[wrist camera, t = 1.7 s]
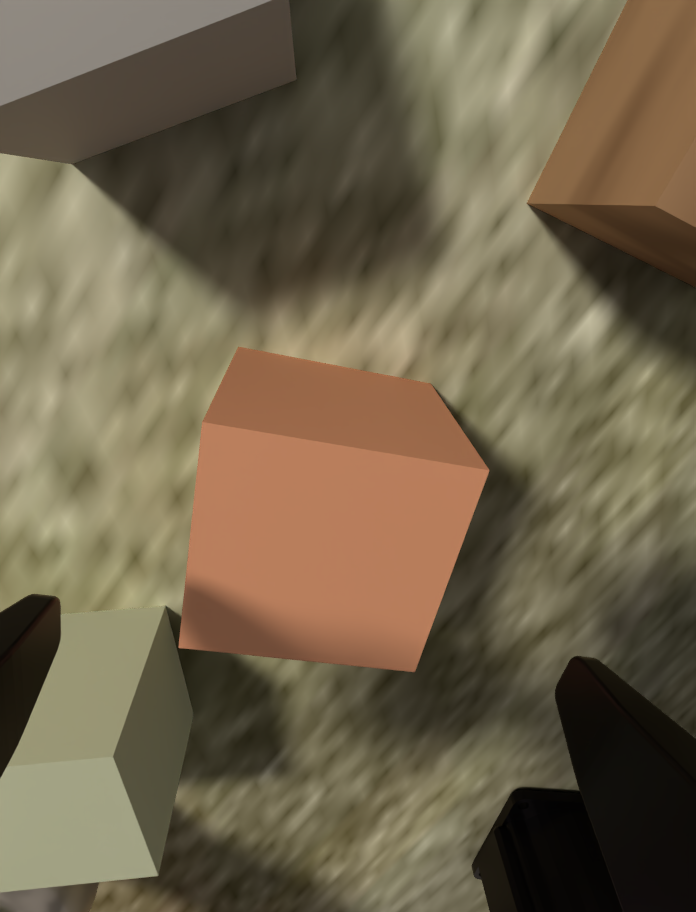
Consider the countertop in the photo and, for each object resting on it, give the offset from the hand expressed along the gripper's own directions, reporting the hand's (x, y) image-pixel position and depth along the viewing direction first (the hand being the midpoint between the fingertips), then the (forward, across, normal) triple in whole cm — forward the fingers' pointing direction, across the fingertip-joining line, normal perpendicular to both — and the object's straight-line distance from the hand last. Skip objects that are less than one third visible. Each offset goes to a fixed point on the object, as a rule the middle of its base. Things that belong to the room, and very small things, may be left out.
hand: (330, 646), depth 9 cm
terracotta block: (+8, 0, 0) cm, 8 cm away
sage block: (+8, +6, +10) cm, 14 cm away
